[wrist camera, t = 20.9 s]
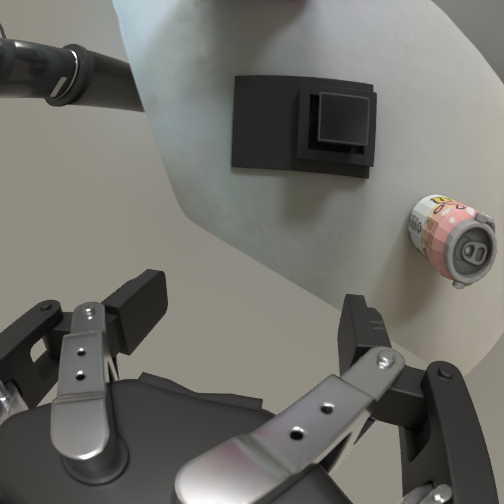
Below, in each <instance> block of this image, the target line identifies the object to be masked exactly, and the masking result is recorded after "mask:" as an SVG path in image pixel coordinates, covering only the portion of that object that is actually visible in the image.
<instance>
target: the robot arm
mask: <svg viewBox="0 0 504 504" xmlns="http://www.w3.org/2000/svg"><path fill="white" fill-rule="evenodd" d="M0 30H1V33H2V37H3V38H0V98H47V99H60V98H62V97H64V96H65V95H66V94H67V93H68V92H69V91H70V90H71V88H72V87H73V85H74V83H75V81H76V79H77V76H78V72H79V66H80V61H79V57H78V55H77V53H76V52H75V51H72V50H66V49H62V48H57V47H53V46H48V45H43V44H38V43H32V42H27V41H21V40H14V39H7V38H6V36H5V33H4V30H3V27H2V25H1V24H0ZM167 306H168V298H167V288H166V277H165V274H164V272H163V271H158V270H152V269H147V270H146V271H144V272H143V273H142V274H141V275H139V276H138V277H137V278H135V279H132V280H130V281H127V282H126V283H125V284H124V285H122V286H121V288H119V289H117V290H116V292H114V293H112V294H111V295H110V296H109V297H107V298H106V299H105V300H104V301H103V302H101V303H98V302H87V303H83V304H81V305H79V306H78V307H77V308H75V309H74V311H73V312H62V309H61V306H60V303H59V302H58V301H56V300H46V301H42V302H40V303H38V304H37V305H35V306H34V307H33V308H31V309H30V310H29V311H27V312H26V313H25V314H24V315H22V316H21V317H20V318H19V319H17V320H16V321H15V322H14V323H12V324H11V325H10V326H8V327H7V328H6V329H5V330H4V331H2V332H1V333H0V504H353V503H352V502H351V501H350V500H349V499H348V497H347V496H346V495H345V494H344V493H343V491H342V490H341V489H340V488H339V487H338V485H337V484H336V483H335V482H334V481H333V479H332V478H331V477H330V475H331V474H332V473H333V472H334V471H335V470H336V469H337V468H338V467H339V466H340V465H341V463H342V462H343V461H344V460H345V458H346V457H347V456H348V454H349V453H350V452H351V451H352V449H354V448H355V447H356V445H357V444H358V443H359V442H360V441H361V440H362V439H363V437H364V436H365V435H366V434H367V433H368V432H369V430H370V429H371V428H372V427H373V426H374V425H375V423H376V422H377V421H378V420H379V421H382V422H386V423H390V424H394V425H398V427H399V438H400V449H401V464H402V486H403V499H401V500H400V501H399V502H398V503H396V504H499V501H498V495H497V489H496V484H495V479H494V475H493V470H492V466H491V462H490V458H489V454H488V451H487V446H486V443H485V439H484V436H483V433H482V430H481V426H480V423H479V420H478V417H477V414H476V411H475V408H474V406H473V403H472V400H471V397H470V394H469V392H468V389H467V387H466V384H465V382H464V379H463V377H462V374H461V372H460V371H459V369H458V368H457V367H455V366H454V365H453V364H451V363H448V362H445V361H435V362H432V363H430V364H429V366H428V367H427V370H426V371H425V370H420V369H416V368H412V367H409V366H407V365H405V359H404V357H403V356H402V355H401V354H400V353H399V352H398V351H396V350H394V349H392V347H391V344H390V340H389V337H388V334H387V331H386V328H385V325H384V324H383V323H384V322H383V319H382V316H381V314H380V313H379V312H378V311H377V310H376V309H375V308H368V307H367V305H366V302H365V298H364V296H363V295H353V294H346V296H345V299H344V304H343V309H342V314H341V318H340V324H339V328H338V353H339V367H340V377H338V376H336V375H334V374H331V375H329V376H328V377H327V378H325V379H324V380H323V381H322V382H320V383H319V384H318V385H317V386H315V387H314V388H313V389H312V390H310V391H309V392H308V393H307V394H305V395H304V396H302V397H301V398H300V399H299V400H297V401H296V402H294V403H293V404H292V405H290V406H289V407H288V408H286V409H285V410H283V411H282V412H281V413H279V414H278V415H275V414H273V413H271V412H269V411H267V410H265V409H262V403H263V399H258V398H252V397H246V396H241V395H235V394H216V393H215V394H214V393H196V392H193V391H191V390H189V389H187V388H185V387H183V386H181V385H179V384H177V383H175V382H173V381H171V380H169V379H166V378H162V377H158V376H155V375H152V374H148V373H145V372H143V373H142V374H141V376H140V377H139V378H138V379H124V380H121V376H120V370H119V363H118V358H117V354H118V353H119V352H120V353H123V354H126V355H129V356H130V355H131V354H132V352H133V351H134V350H135V349H136V348H137V346H138V345H139V344H140V343H141V342H142V341H143V339H144V338H145V337H146V336H147V334H148V333H149V332H150V331H151V330H152V329H153V328H154V326H155V325H156V324H157V323H158V321H159V320H160V319H161V318H162V317H163V316H164V315H165V313H166V311H167ZM41 338H42V339H43V342H44V344H45V347H46V349H47V350H46V351H45V352H44V353H43V354H42V355H41V356H40V357H39V358H38V359H37V360H36V361H35V362H34V363H33V361H32V358H31V355H30V352H31V348H32V346H33V345H34V344H35V343H36V342H37V341H39V340H40V339H41ZM57 381H58V388H57V397H56V399H54V400H53V401H52V402H51V403H48V404H45V405H42V406H38V407H36V406H37V405H38V404H39V403H40V401H41V400H42V399H43V398H44V397H45V396H46V394H47V393H48V392H49V391H50V390H51V388H52V387H53V386H54V384H56V383H57Z"/></svg>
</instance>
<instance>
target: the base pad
mask: <svg viewBox="0 0 504 504" xmlns="http://www.w3.org/2000/svg"><path fill="white" fill-rule="evenodd" d="M320 92H324V93H334V94H343V95H351V96H358V97H365V98H369V99H370V105H369V132H368V146H345V145H336V144H327V143H317V131H318V108H319V95H320ZM376 106H377V93H375V92H373V85H372V84H366V83H359V82H352V81H344V80H336V79H326V78H314V77H299V76H272V75H249V76H235V93H234V116H233V143H232V167H244V168H264V169H279V170H293V171H304V172H315V173H325V174H334V175H343V176H351V177H359V178H367V179H368V178H369V169H370V167H373V163H374V150H375V133H376Z"/></svg>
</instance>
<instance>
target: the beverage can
mask: <svg viewBox="0 0 504 504" xmlns="http://www.w3.org/2000/svg"><path fill="white" fill-rule="evenodd" d="M408 229H409V236H410V238H411V240H412V243H413V245H414V246H415V247H416V248H417V249H418V250H419V251H420V252H421V253H422V254H423V255H424V256H425V257H426V258H427V259H428V261H429V262H430V263H431V264H432V265H433V266H434V267H435V268H436V269H437V270H438V271H439V273H440V274H441V275H442V276H444V277H446V278H448V279H450V280H454V281H453V284H452V285H453V286H454V287H455V288H457V289H463V288H464V286H468V285H471V284H472V283H474V282H476V281H478V280H480V279H481V278H482V277H484V276H485V275H486V274H487V272H488V271H489V270H490V268H491V266H492V264H493V262H494V260H495V256H496V252H497V241H496V237H495V223H494V220H493V218H492V217H491V216H488V215H485V213H483V212H477V211H476V210H474V209H472V208H470V207H468V206H466V205H463V204H461V203H459V202H457V201H454V200H452V199H450V198H447V197H445V196H442V195H431V196H427V197H425V198H424V199H422V200H420V201H419V202H418V203H417V204H416V206H415V207H414V208H413V210H412V212H411V215H410V217H409V225H408Z"/></svg>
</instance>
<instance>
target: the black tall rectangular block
mask: <svg viewBox="0 0 504 504" xmlns="http://www.w3.org/2000/svg"><path fill="white" fill-rule="evenodd" d="M369 105H370V99H369V98H365V97H358V96H351V95H343V94H334V93H324V92H320V95H319V108H318V131H317V143H327V144H336V145H345V146H368V132H369Z"/></svg>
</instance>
